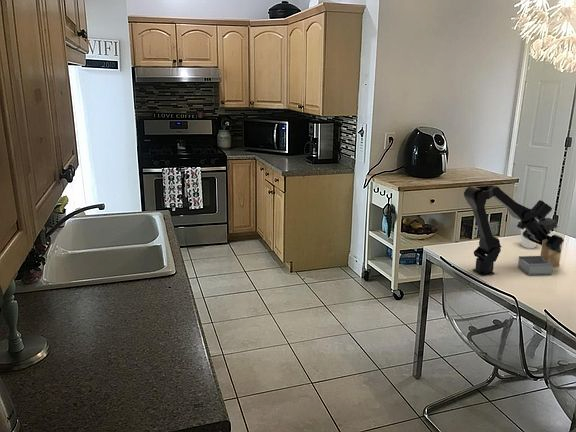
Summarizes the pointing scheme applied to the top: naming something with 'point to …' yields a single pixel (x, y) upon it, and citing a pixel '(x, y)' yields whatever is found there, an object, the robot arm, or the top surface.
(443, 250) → the top surface
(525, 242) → the cup
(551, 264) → the large crate
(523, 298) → the top surface
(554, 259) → the small crate
